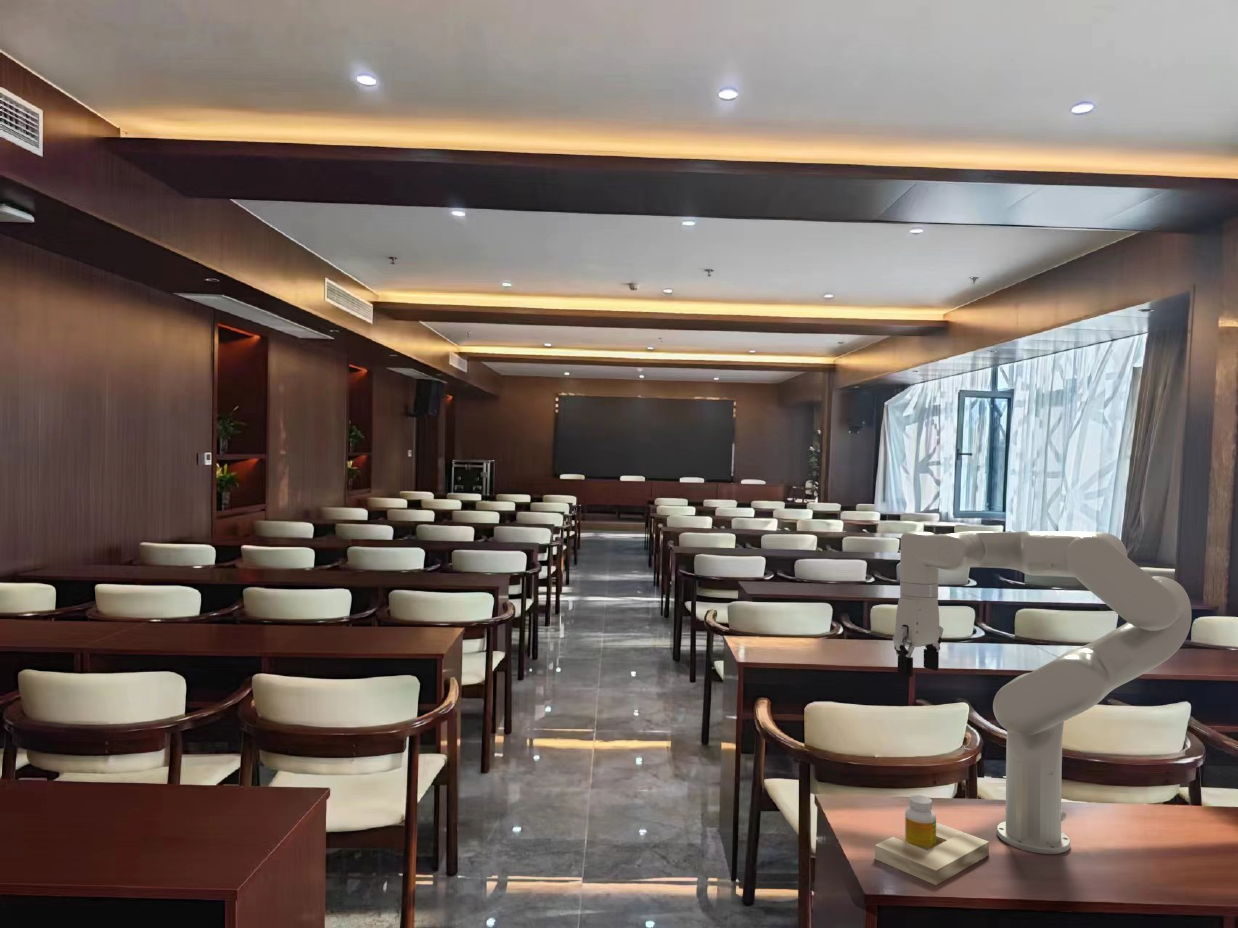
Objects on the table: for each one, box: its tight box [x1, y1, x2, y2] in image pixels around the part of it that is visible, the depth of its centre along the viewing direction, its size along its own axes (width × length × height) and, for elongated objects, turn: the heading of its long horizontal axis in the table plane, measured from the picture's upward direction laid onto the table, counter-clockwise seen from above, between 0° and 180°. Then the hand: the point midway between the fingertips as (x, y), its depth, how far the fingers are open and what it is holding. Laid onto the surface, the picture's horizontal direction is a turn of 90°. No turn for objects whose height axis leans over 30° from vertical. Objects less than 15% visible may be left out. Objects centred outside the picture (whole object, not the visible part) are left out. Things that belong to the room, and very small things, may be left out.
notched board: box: [874, 821, 990, 886], centre depth 151 cm, size 18×12×2 cm, turn 129°
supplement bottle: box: [904, 794, 937, 850], centre depth 153 cm, size 5×5×10 cm
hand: (918, 672), depth 173 cm, fingers open, 9 cm apart
